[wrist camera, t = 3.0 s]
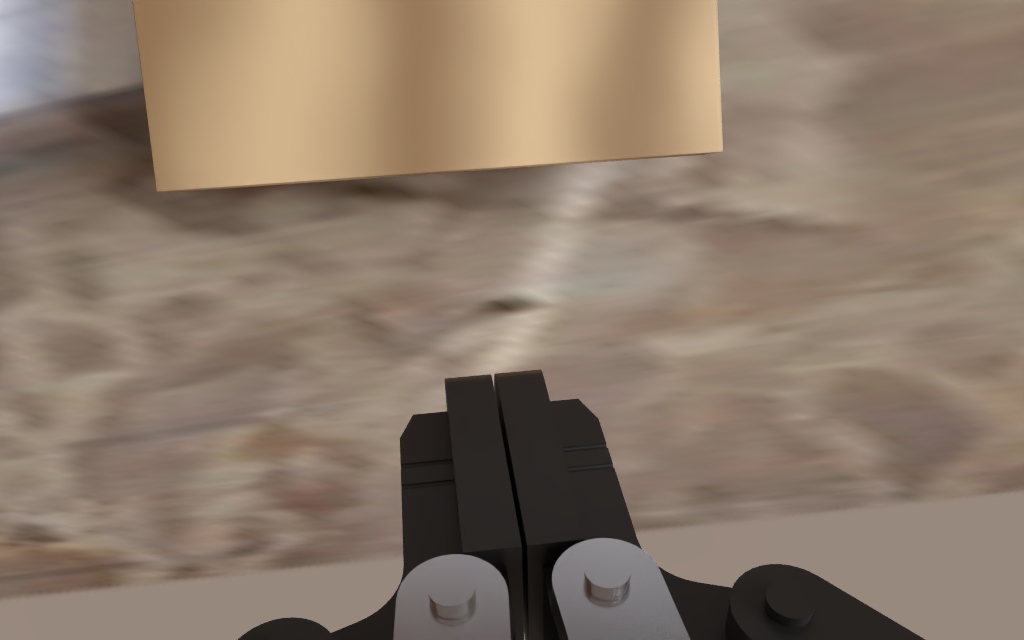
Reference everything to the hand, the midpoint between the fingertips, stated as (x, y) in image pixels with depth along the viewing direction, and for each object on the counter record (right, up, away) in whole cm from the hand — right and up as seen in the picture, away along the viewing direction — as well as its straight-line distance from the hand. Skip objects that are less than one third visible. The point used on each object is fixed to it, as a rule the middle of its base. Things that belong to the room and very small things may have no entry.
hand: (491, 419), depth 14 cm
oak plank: (-2, +10, +13) cm, 16 cm away
